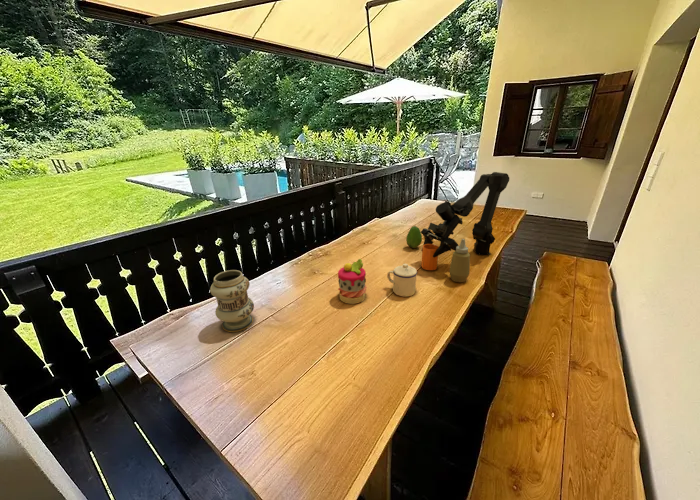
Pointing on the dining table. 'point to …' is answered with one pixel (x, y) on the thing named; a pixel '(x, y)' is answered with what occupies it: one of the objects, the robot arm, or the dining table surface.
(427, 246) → the orange cup
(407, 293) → the teacup with lid
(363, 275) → the cake
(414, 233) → the avocado
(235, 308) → the apothecary jar
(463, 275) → the squeeze bottle
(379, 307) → the dining table surface
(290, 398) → the dining table surface
